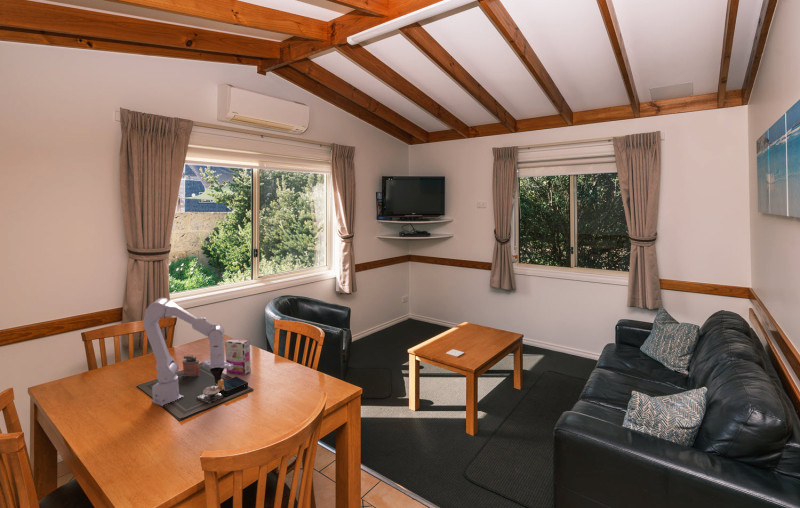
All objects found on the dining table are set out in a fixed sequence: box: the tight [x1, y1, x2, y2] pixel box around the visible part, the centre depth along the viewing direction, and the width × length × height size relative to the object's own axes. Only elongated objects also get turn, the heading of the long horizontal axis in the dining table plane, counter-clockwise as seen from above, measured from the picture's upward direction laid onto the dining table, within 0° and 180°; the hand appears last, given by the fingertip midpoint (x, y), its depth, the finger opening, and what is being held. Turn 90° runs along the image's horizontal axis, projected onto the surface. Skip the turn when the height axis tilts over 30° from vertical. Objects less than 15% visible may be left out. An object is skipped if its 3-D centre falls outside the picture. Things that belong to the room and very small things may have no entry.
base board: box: [196, 385, 225, 402], centre depth 176 cm, size 9×9×4 cm
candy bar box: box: [224, 338, 252, 376], centre depth 202 cm, size 11×5×16 cm, turn 73°
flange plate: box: [202, 378, 225, 395], centre depth 176 cm, size 8×7×4 cm
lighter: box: [181, 355, 200, 377], centre depth 198 cm, size 8×3×10 cm, turn 84°
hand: (218, 382), depth 179 cm, fingers closed, pressing on flange plate
